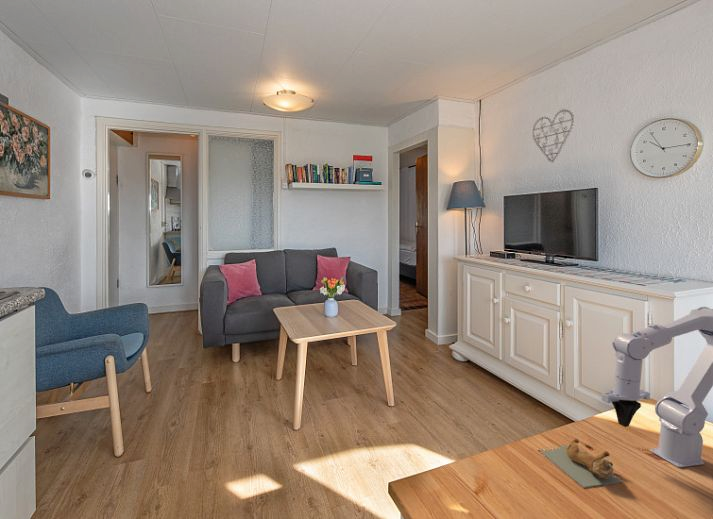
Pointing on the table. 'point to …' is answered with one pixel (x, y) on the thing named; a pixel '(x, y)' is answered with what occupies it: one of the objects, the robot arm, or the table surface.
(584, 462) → the lion figurine
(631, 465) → the table surface
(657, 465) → the table surface
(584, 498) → the table surface
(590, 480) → the mat
